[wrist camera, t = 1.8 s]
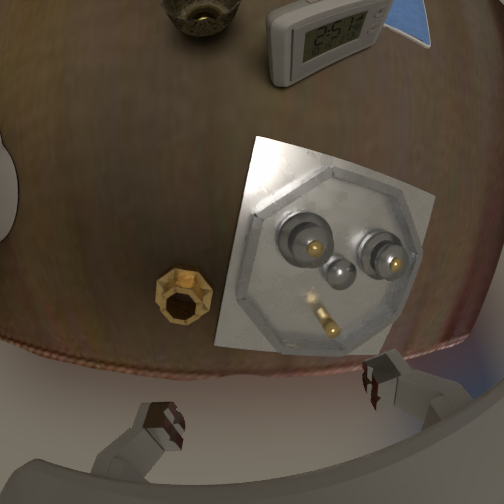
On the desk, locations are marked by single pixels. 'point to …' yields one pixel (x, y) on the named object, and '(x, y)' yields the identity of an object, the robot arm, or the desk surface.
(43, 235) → the desk surface
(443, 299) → the desk surface
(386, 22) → the tablet computer
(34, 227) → the desk surface
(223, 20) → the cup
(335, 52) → the digital clock
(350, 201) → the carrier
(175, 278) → the flanged octagonal bushing
